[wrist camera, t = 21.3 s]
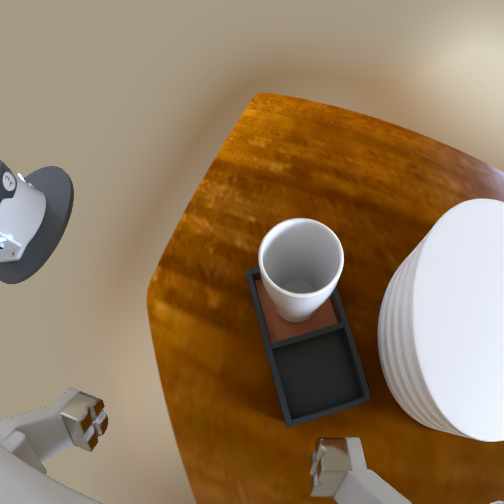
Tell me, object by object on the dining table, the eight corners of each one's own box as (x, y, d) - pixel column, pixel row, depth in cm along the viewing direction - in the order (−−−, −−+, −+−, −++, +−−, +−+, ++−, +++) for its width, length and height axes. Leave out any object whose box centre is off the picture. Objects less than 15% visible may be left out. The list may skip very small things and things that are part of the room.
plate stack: (344, 278, 38) (364, 239, 27) (483, 217, 39) (518, 179, 28) (412, 467, 26) (453, 492, 16) (542, 366, 27) (589, 354, 17)
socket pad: (286, 423, 31) (286, 427, 29) (248, 278, 39) (244, 270, 36) (365, 398, 31) (371, 400, 29) (320, 258, 39) (323, 248, 36)
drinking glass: (257, 305, 37) (238, 260, 23) (292, 266, 38) (294, 201, 25) (299, 340, 35) (308, 317, 21) (334, 298, 36) (361, 249, 22)
